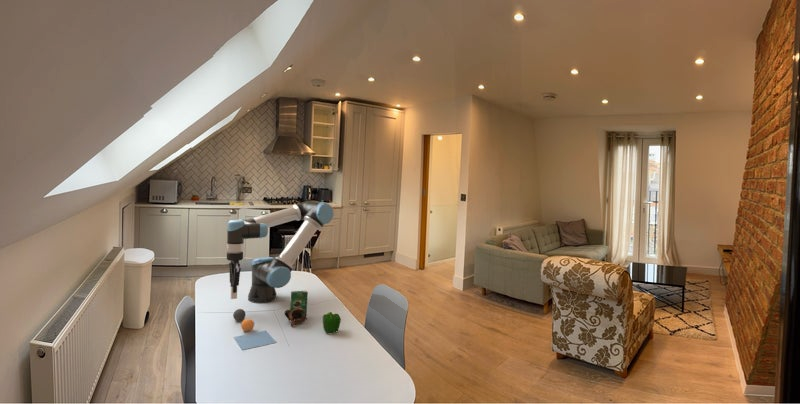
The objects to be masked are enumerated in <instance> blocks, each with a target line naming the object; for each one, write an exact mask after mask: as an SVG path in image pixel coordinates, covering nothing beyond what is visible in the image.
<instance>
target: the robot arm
mask: <svg viewBox="0 0 800 404" xmlns="http://www.w3.org/2000/svg"><path fill="white" fill-rule="evenodd" d="M333 209H334V208H333V207H332V205H331V204H330V203H328V202H324V201H317V200H307V201H306V200H305V201H303V202H300V203H296V204H293V205H292V207H288V208H284V209H281V210H277V211H274V212H269V213H266V214H262V215H258V216H254V217H252V218H247V219H242V218H241V219H230V220H229V221H228V222H227V228H226V232H227V234H226V235H227V237H226V238H227V239H226V241H227V242H226V244H227V245H225V247H226V251H227V252H226V260H227V261H230V262H228V267H229V268H228V269H229V271H228V273H229V284H230V285H229V286H230V299H231V300H235V299H238V286H239V285H240V276H241V270H242V269H241V267H240V266H241V265H240V264H241V263H240V261H242V260H243V259H244V248H245V247H244V246H245V245H244V244H245V243H244V241H245V240H248V239H250V240H251V239H262V238H266V237H268V233H269V228H271V227H275V226H278V225H283V224H285V223H289V222H292V221H293V222H294V221H297V222H298V221H303V222H302V223H301V225H300V227H299V228H298V229H297V230H296V232H295V234H294V235H293V236H292V238H291V239H290V240H289V242H288V243H287V244H286V246H285V247H284V248H283V250H282V251H281V253H280V254H279V256H278V255H277V256H275V257H271V256H266V257H264V256H263V257H258V258H254V259H252V262H251V286H250V289H249V292H248V295H247V300H248V301H249V302H252V303H257V304H259V303H260V304H261V303H270V302H273V301H275V300H277V298H278V296H277V295H278V294H277V290H276V289H280V288H283V287H285V286H286V285H288V284H289V283H290V280H291V278H292V277H291V275H292V273H291V272H292V271H293V265H294V264H295V262H296V260H297V259H298V257H299V256H300V254H301V253H302V251H304V249H305V248H306V247H307V245H308V243H309V242H310V241H311V239H312V237H313V236H314V235H315V233H316V232H317V230H321V229H322V228H323V227H324V226H325V224H329V223H330V222H332V220H333V218H334V215H335V214H334V210H333Z"/></svg>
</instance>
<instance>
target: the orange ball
mask: <svg viewBox="0 0 800 404" xmlns="http://www.w3.org/2000/svg"><path fill="white" fill-rule="evenodd" d="M240 327H241V329H242V330H243V331H244V332H250V331H252V330H253V329H254V327H255V323H254V320H253V319H251V318H244V319H243V320H242V322H241V324H240Z"/></svg>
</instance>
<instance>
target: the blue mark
mask: <svg viewBox="0 0 800 404" xmlns="http://www.w3.org/2000/svg"><path fill="white" fill-rule="evenodd" d="M233 339H234V340H235V342H236V343H237V345H238V346H239V348H240V349H241V351H245V350H250V349H254V348H258V347H259V348H260V347H263V346H267V345H272V344H276V343H277V341H276V340H275V339H274V338H273V336H272V335H271V334H270V332H268V331H267V330H261V331H258V332H253V333H252V332H251V333H247V334H241V335H236V336H233Z"/></svg>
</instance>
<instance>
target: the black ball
mask: <svg viewBox="0 0 800 404" xmlns="http://www.w3.org/2000/svg"><path fill="white" fill-rule="evenodd" d="M232 316H233V319H234V320H235V321H237V322H240V321H244V320H245V319H246V311H245V310H244V309H242V308H238V309H236V310H235V311H233V315H232Z"/></svg>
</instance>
